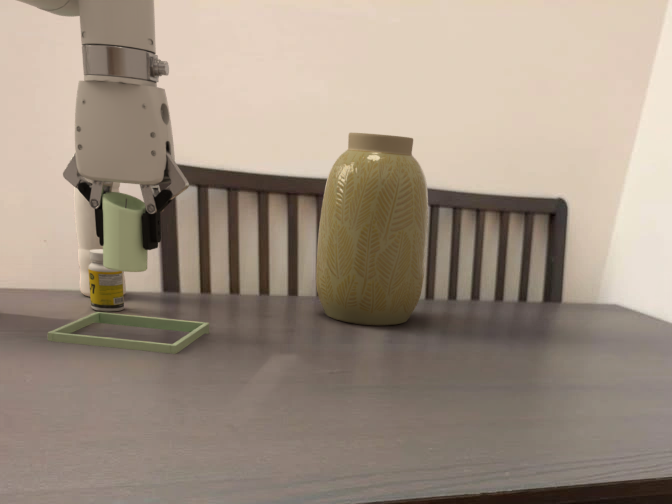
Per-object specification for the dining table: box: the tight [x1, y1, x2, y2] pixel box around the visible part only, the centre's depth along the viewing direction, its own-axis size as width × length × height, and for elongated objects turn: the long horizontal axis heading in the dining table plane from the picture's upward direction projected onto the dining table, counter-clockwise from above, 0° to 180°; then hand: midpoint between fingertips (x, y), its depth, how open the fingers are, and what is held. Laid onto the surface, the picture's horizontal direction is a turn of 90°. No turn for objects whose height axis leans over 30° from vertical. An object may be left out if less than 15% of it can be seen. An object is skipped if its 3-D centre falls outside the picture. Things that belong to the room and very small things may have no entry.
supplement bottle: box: [88, 249, 125, 313], centre depth 108 cm, size 5×5×8 cm
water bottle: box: [73, 177, 127, 298], centre depth 114 cm, size 7×7×25 cm
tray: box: [47, 311, 210, 355], centre depth 90 cm, size 15×13×2 cm
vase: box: [315, 132, 429, 327], centre depth 114 cm, size 17×17×27 cm
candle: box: [102, 191, 149, 273], centre depth 85 cm, size 5×5×8 cm
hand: (129, 245), depth 86 cm, fingers closed on candle, 4 cm apart
